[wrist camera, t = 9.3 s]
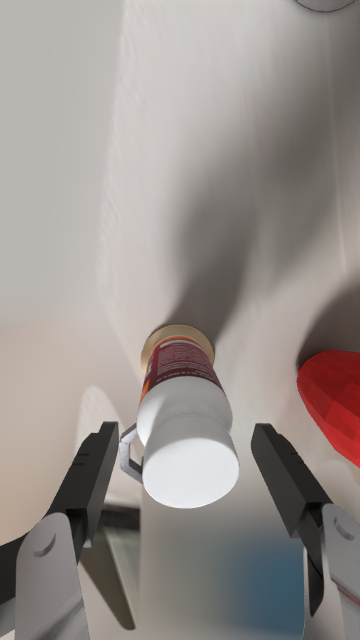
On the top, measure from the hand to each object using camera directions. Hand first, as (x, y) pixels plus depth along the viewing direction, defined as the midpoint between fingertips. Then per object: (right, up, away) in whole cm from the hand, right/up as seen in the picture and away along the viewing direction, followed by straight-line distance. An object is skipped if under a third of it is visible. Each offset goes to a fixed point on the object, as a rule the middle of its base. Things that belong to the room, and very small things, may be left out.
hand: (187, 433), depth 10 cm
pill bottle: (-1, +2, +9) cm, 9 cm away
